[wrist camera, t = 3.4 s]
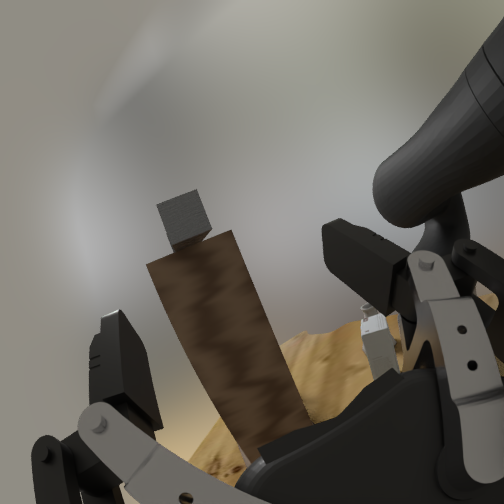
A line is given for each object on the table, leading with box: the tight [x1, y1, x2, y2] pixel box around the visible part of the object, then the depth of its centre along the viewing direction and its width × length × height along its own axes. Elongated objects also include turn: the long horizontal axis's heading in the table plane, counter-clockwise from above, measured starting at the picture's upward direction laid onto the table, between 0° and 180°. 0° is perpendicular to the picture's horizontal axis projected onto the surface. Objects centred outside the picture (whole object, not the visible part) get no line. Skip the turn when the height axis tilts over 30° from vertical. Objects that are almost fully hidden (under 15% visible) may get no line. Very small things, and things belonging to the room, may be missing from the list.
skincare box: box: [361, 313, 400, 380], centre depth 38 cm, size 6×4×12 cm
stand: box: [146, 230, 314, 468], centre depth 37 cm, size 12×16×32 cm
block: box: [157, 189, 212, 253], centre depth 31 cm, size 4×25×4 cm, turn 15°
